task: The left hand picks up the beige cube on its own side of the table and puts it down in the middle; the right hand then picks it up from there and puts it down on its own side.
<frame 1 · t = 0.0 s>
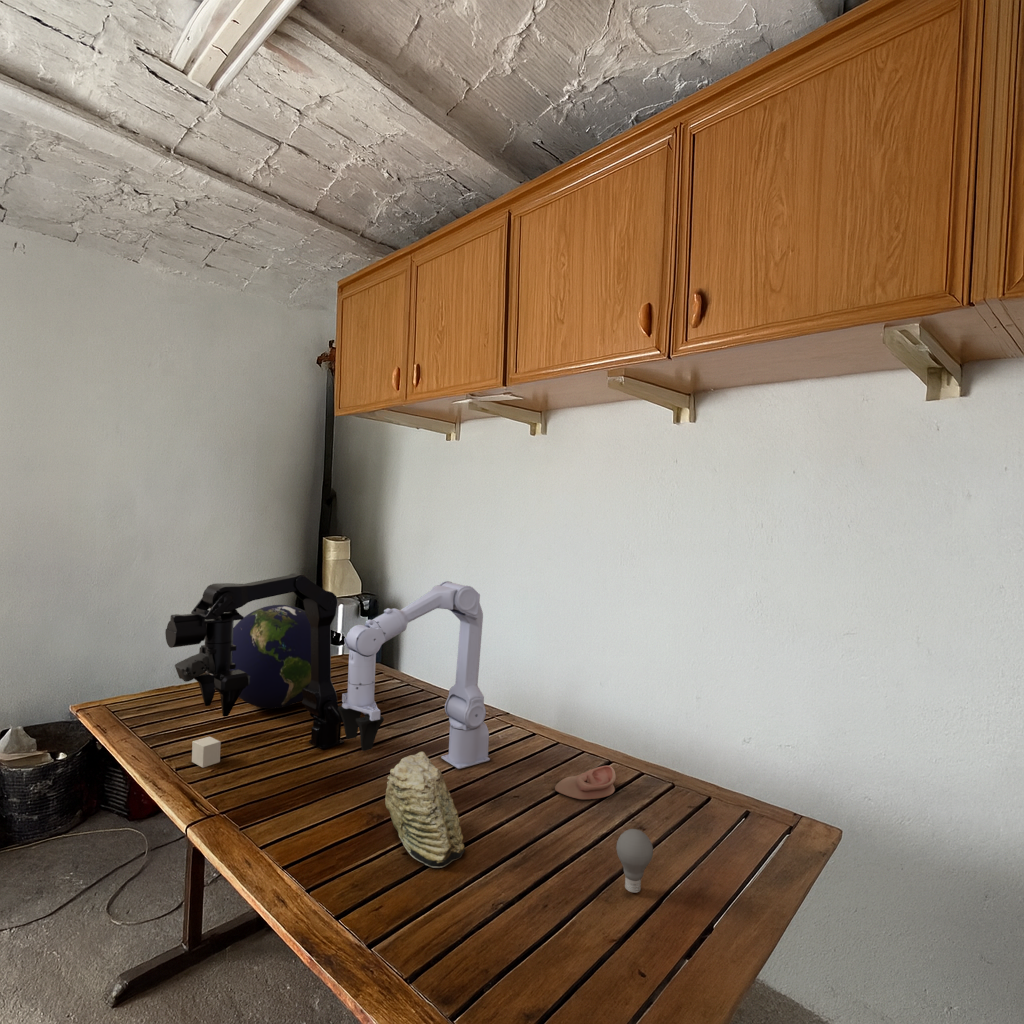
left hand: (216, 710, 141), 15 cm above the table, tool pointing down, fingers open, 9 cm apart
right hand: (359, 743, 137), 10 cm above the table, tool pointing down, fingers open, 7 cm apart
globe: (275, 706, 188), on the table
anatomical model: (585, 789, 143), on the table
light bulb: (632, 891, 106), on the table
beige cube: (205, 762, 148), on the table
fossil: (421, 843, 117), on the table
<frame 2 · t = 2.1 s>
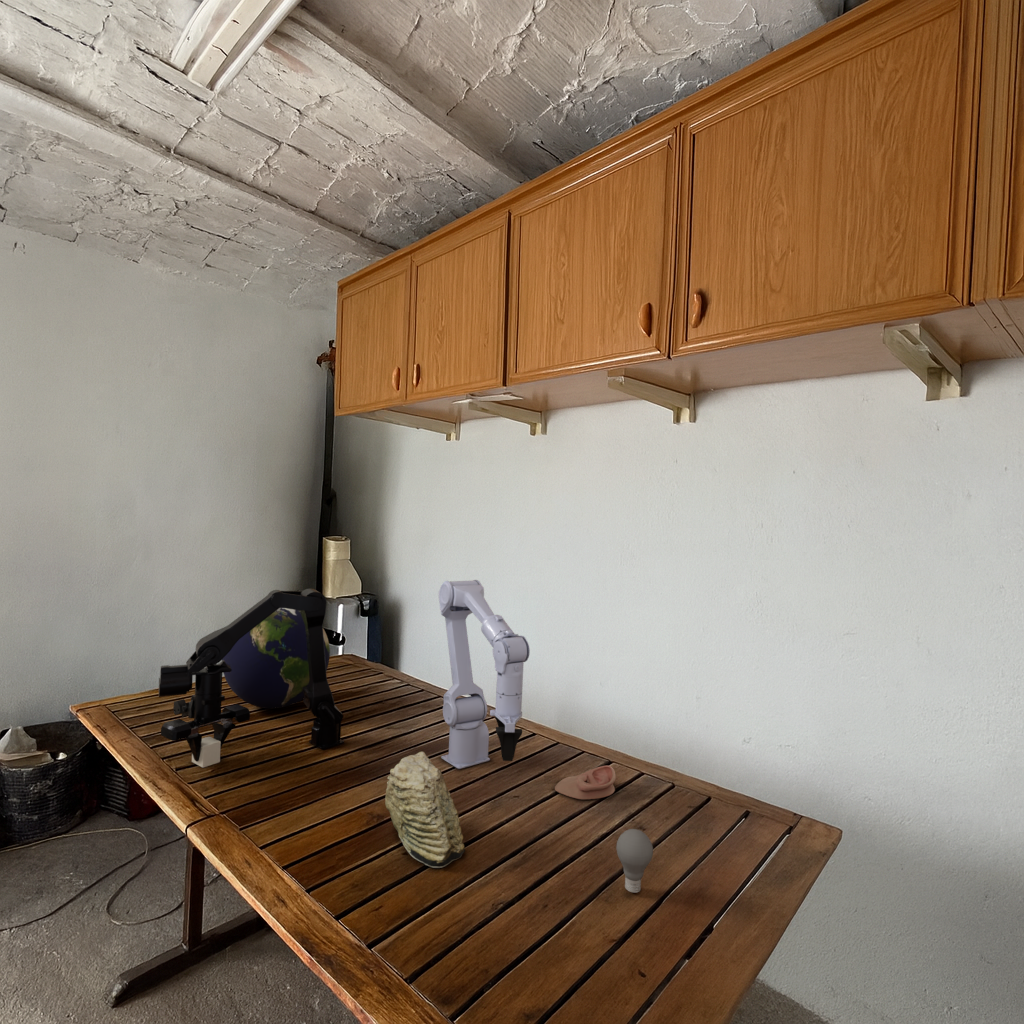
left hand: (206, 757, 148), 1 cm above the table, tool pointing down, fingers closed on beige cube, 4 cm apart
right hand: (506, 753, 139), 9 cm above the table, tool pointing down, fingers open, 7 cm apart
beige cube: (205, 762, 148), on the table, touching left hand
everything else where it was.
when the left hand's fingers open (2 cm above the table, at t = 9.8 s): beige cube stays where it is, on the table.
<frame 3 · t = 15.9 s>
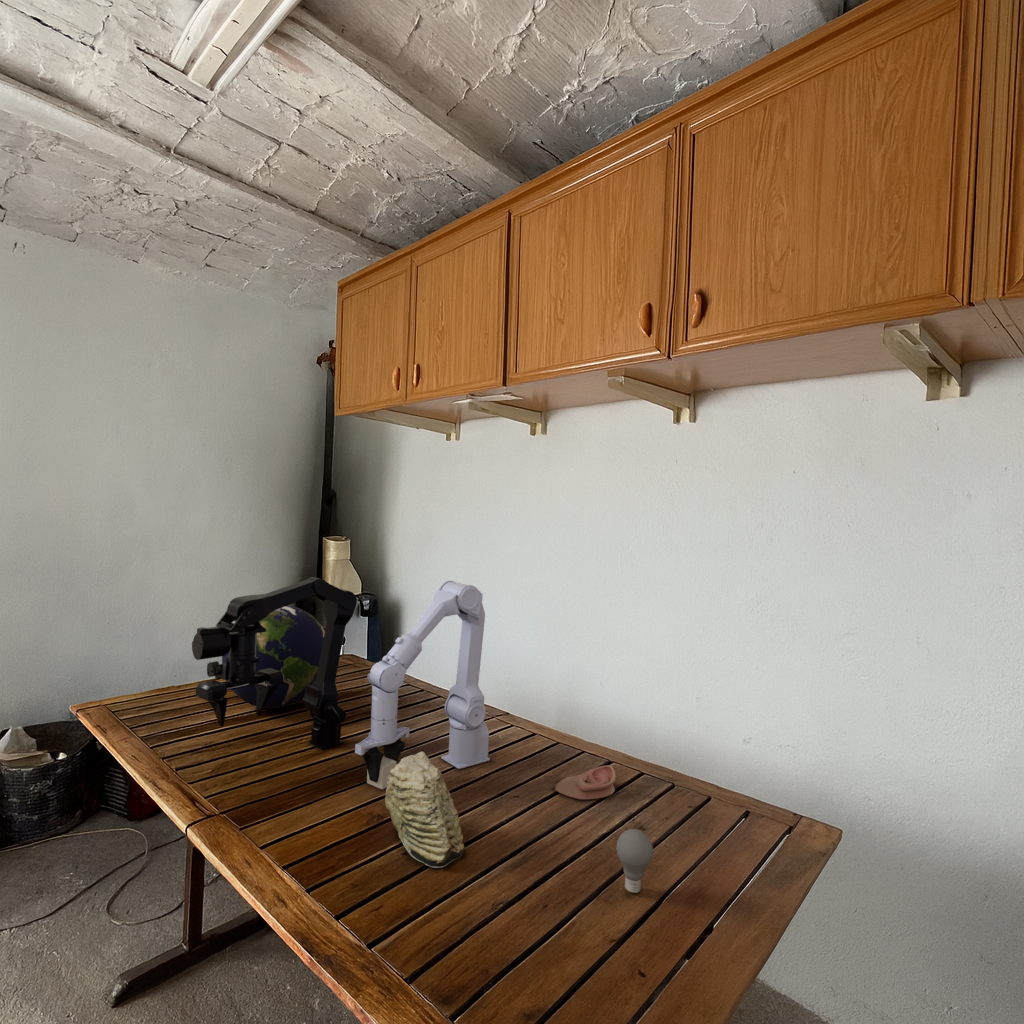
left hand: (240, 720, 145), 11 cm above the table, tool pointing down, fingers open, 9 cm apart
right hand: (381, 776, 141), 1 cm above the table, tool pointing down, fingers closed on beige cube, 4 cm apart
beige cube: (381, 783, 141), on the table, touching right hand
everything else where it was.
when the right hand's fingers open (2 cm above the table, at t = 23.1 s): beige cube stays where it is, on the table.
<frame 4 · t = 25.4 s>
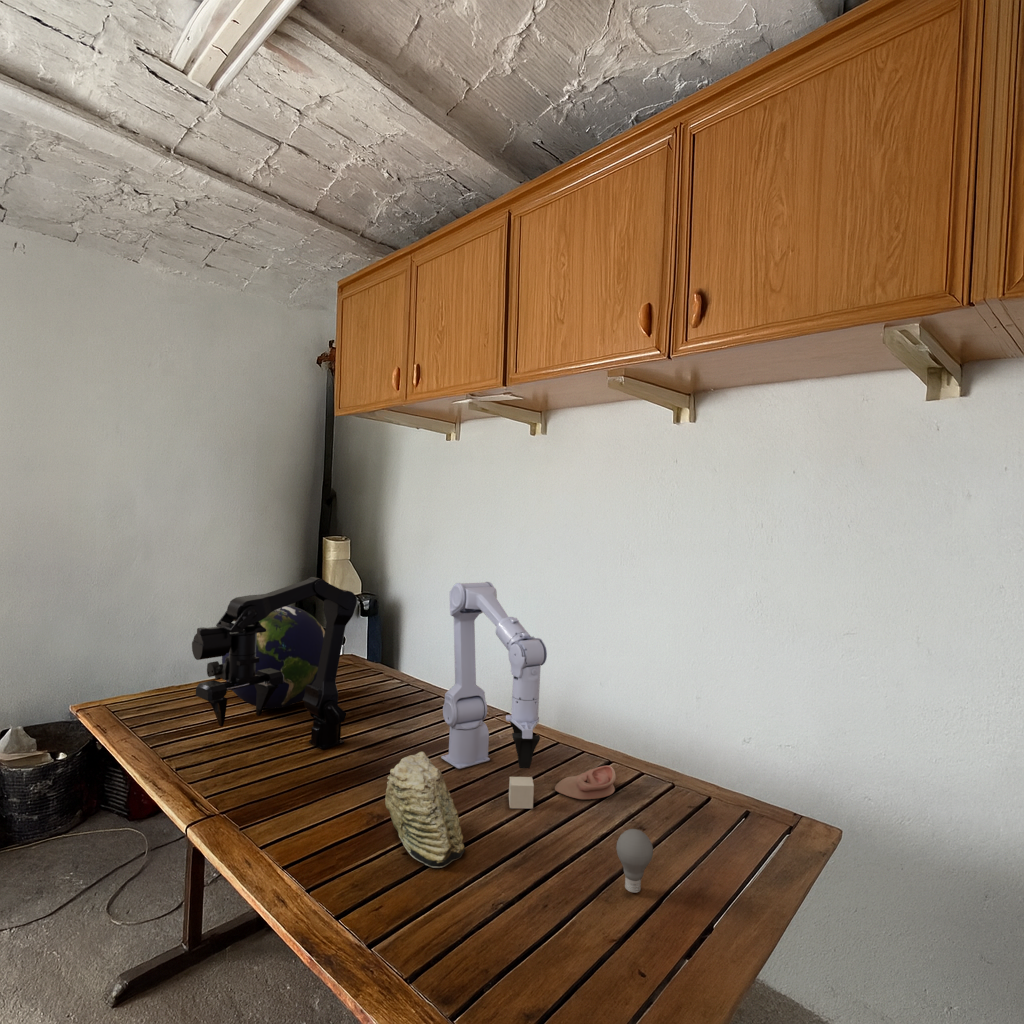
left hand: (240, 720, 145), 11 cm above the table, tool pointing down, fingers open, 9 cm apart
right hand: (522, 760, 134), 9 cm above the table, tool pointing down, fingers open, 7 cm apart
beige cube: (520, 803, 135), on the table
everything else where it was.
at the end: beige cube inside the target area (0.1 cm from its centre), on the table; beige cube tilted 0°; the two hands never held the beige cube at the same time; the left hand is holding nothing; the right hand is holding nothing; beige cube at rest at the end (0.0 cm/s) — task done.
